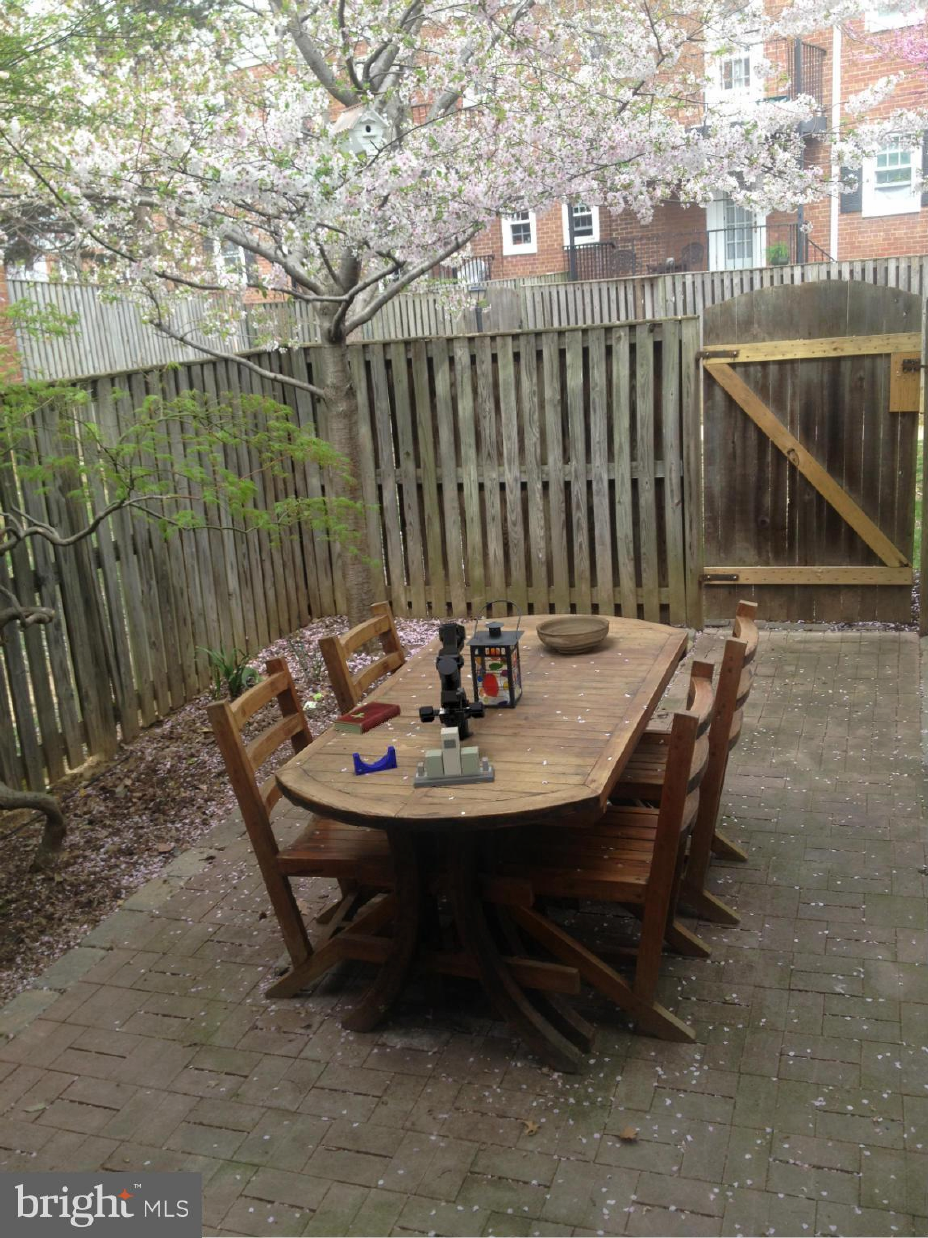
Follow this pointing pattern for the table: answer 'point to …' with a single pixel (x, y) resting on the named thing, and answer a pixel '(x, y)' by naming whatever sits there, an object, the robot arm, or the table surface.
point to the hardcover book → (367, 717)
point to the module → (451, 751)
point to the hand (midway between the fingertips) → (453, 739)
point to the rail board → (469, 774)
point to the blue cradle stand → (375, 763)
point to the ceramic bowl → (573, 633)
